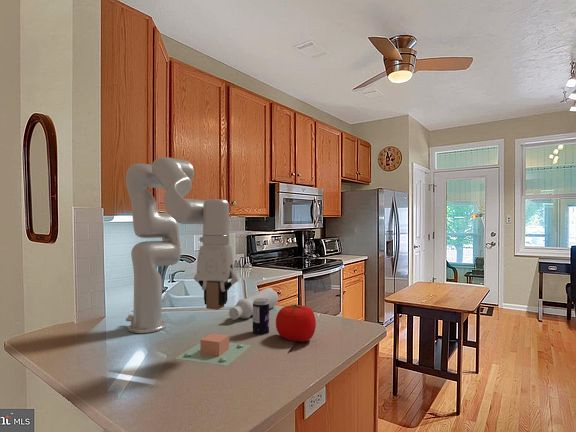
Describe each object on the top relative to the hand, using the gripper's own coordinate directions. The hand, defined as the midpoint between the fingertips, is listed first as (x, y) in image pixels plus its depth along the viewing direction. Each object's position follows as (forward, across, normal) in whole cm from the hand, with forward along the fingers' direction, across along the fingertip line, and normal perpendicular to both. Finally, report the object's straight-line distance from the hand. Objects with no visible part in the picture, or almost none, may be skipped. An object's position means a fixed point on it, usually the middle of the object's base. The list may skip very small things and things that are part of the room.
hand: (215, 303), depth 100 cm
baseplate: (+15, 0, 0) cm, 15 cm away
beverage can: (+15, +6, +21) cm, 27 cm away
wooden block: (+2, 0, 0) cm, 2 cm away
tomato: (+15, +19, +20) cm, 32 cm away
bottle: (+15, -8, +46) cm, 49 cm away
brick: (+14, 0, 0) cm, 14 cm away
